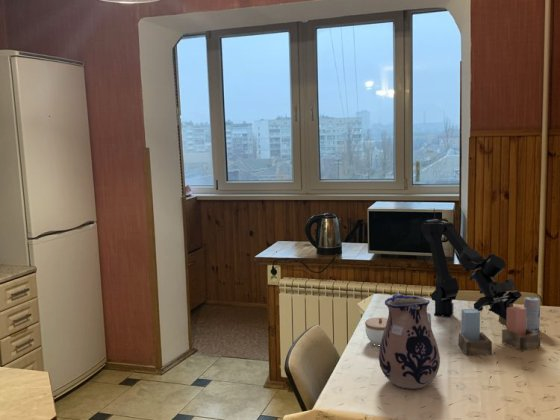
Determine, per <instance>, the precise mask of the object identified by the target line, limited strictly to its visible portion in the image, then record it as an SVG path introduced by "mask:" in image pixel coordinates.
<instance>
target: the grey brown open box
mask: <svg viewBox="0 0 560 420" xmlns="http://www.w3.org/2000/svg"><path fill="white" fill-rule="evenodd" d="M457 343H458V347H459V348H460V349H461V351H463V353H464V354H465V355H466V356H467V357H468V356H492V355H493V353H492V352H493V351H492V350H493V342H492V340H491V339H490V338H489V337H488V336H487V335H486V334H485V333H484V332H483V331H482V332H481V331H480V340H478V341H469V340H468V339H467V338H466V337H465V336H464V334H463V333H461V332H458V342H457Z"/></svg>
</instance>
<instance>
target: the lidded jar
mask: <svg viewBox="0 0 560 420" xmlns="http://www.w3.org/2000/svg"><path fill="white" fill-rule="evenodd" d="M387 320H388V317H372V318H368V319H366V320H365V321H364V325H365V334H366V337H367V339H368V340H369V341H370V343H371V344H372V343H373V344H375V345H374V346H376V345H380V344H381V340H382V335H383V333H384V330H385V327H386V323H387ZM373 344H372V345H373Z"/></svg>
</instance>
